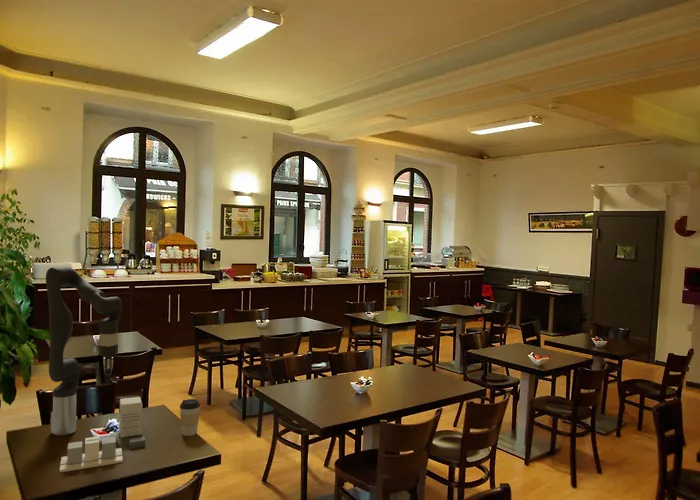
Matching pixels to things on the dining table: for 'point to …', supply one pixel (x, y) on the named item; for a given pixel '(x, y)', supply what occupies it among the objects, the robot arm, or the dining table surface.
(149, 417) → the dining table surface
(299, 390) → the dining table surface
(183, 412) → the coffee cup
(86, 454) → the expansion module
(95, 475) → the dining table surface
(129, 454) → the dining table surface
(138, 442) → the block
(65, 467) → the board
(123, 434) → the supplement box
